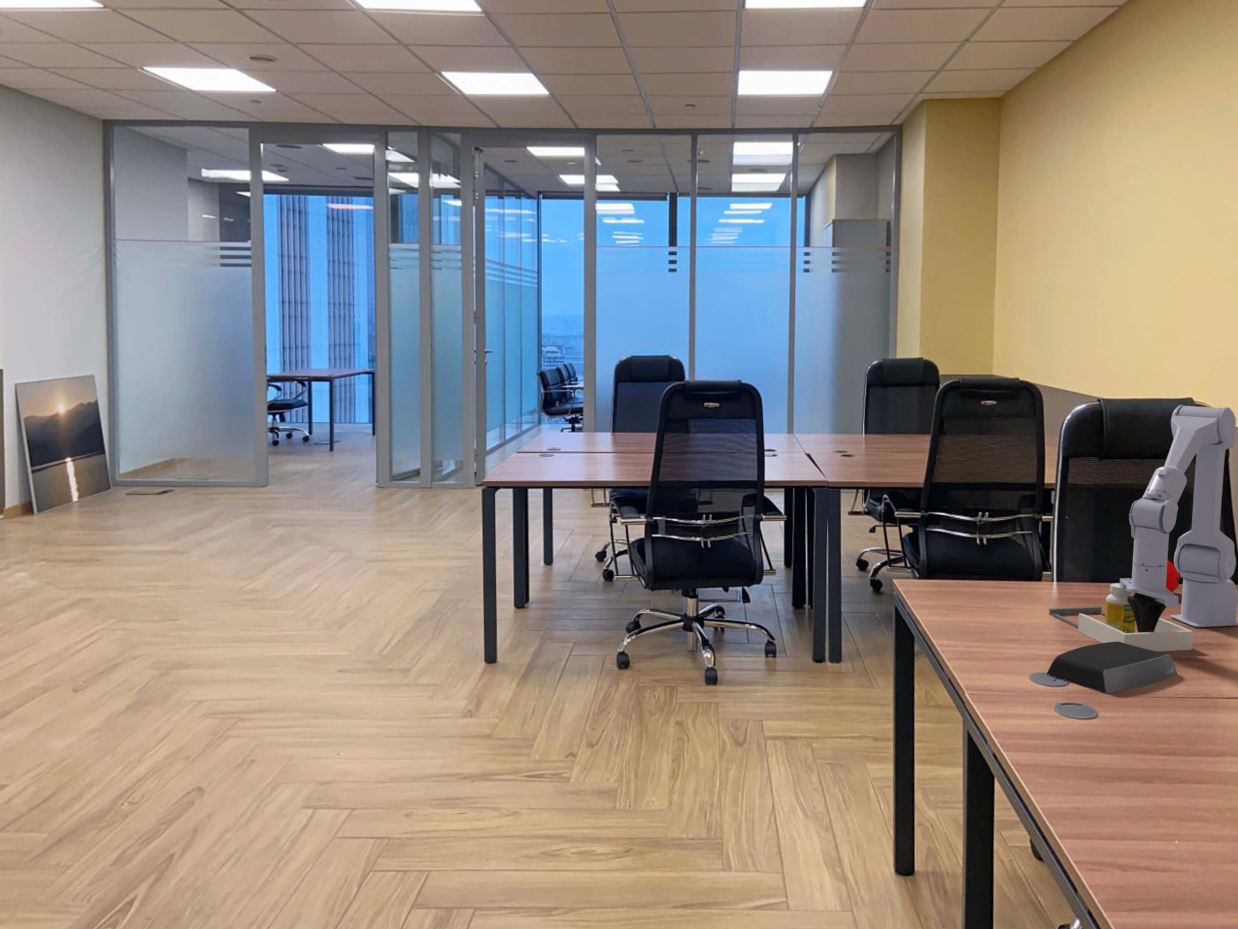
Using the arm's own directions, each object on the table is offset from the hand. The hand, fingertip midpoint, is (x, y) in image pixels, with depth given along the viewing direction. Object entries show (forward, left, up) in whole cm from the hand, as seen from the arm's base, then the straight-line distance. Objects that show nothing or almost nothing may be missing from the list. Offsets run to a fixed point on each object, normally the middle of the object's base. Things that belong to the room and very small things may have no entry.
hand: (1145, 635), depth 203 cm
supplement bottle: (0, -8, -2) cm, 8 cm away
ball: (-27, -36, -2) cm, 45 cm away
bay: (0, -4, -2) cm, 4 cm away
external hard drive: (+16, +14, -3) cm, 21 cm away
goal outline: (0, -18, -2) cm, 18 cm away
